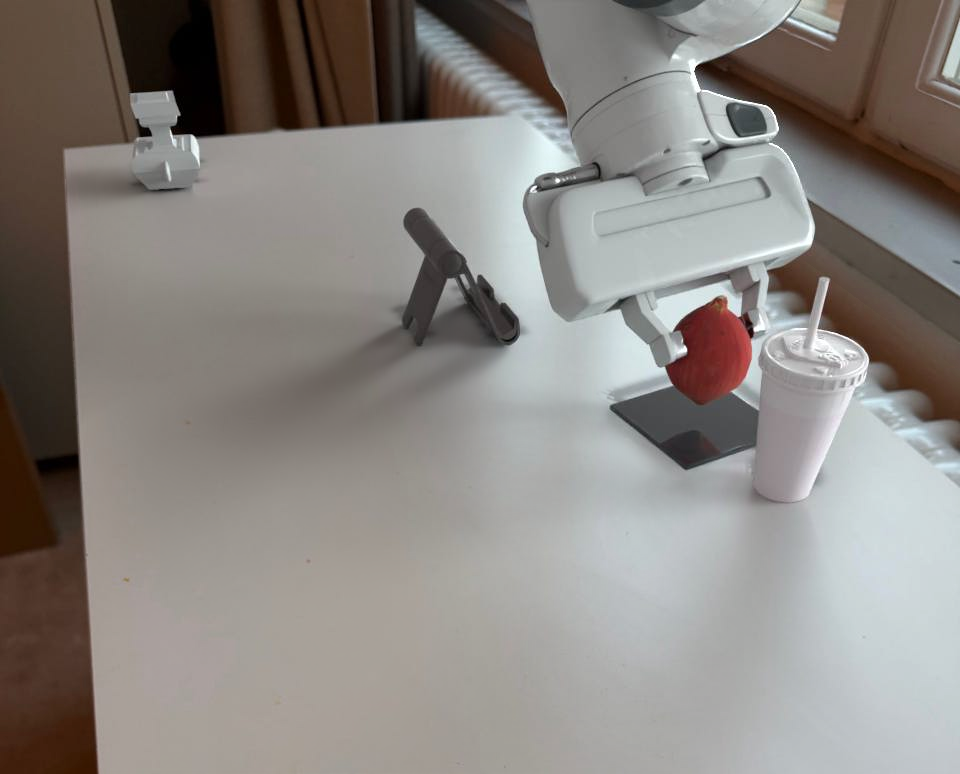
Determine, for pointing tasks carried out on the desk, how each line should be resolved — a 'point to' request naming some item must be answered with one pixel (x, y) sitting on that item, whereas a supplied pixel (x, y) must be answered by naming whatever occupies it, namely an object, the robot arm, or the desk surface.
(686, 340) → the onion
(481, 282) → the tablet stand
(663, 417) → the coaster
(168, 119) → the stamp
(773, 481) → the smoothie
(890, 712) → the desk surface
